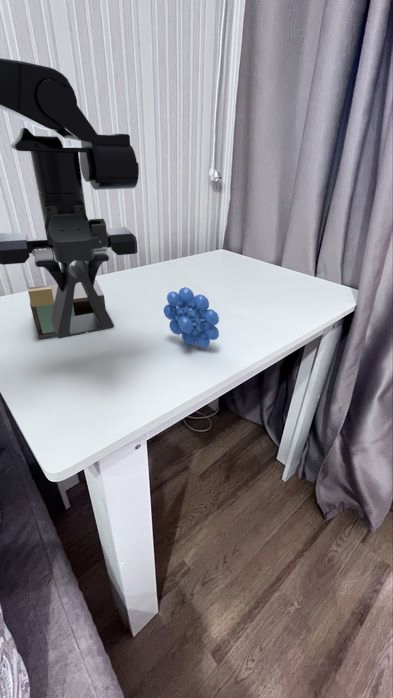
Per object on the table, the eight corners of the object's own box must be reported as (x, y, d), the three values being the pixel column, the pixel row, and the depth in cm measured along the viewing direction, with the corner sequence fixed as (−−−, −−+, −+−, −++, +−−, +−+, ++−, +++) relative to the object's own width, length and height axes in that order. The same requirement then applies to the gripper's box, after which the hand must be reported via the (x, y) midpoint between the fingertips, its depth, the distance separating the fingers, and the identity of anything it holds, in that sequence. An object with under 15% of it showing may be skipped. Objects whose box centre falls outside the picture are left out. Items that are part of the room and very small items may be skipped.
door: (39, 335, 66) (28, 291, 61) (38, 332, 67) (27, 289, 62) (77, 328, 68) (69, 286, 63) (76, 326, 69) (69, 284, 64)
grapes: (154, 348, 65) (152, 291, 59) (169, 332, 70) (169, 279, 64) (209, 363, 62) (213, 304, 55) (221, 345, 67) (226, 290, 60)
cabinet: (38, 339, 66) (30, 307, 62) (36, 316, 74) (28, 287, 70) (109, 327, 71) (105, 297, 67) (100, 307, 79) (96, 279, 75)
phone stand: (57, 338, 51) (41, 262, 45) (51, 322, 56) (36, 250, 49) (114, 327, 55) (107, 256, 49) (104, 312, 59) (97, 245, 53)
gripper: (-27, 203, 35) (12, 332, 43) (145, 199, 41) (149, 311, 50) (-17, 188, 43) (13, 298, 52) (124, 187, 50) (131, 285, 58)
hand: (78, 298), depth 53 cm, fingers closed on phone stand, 3 cm apart
